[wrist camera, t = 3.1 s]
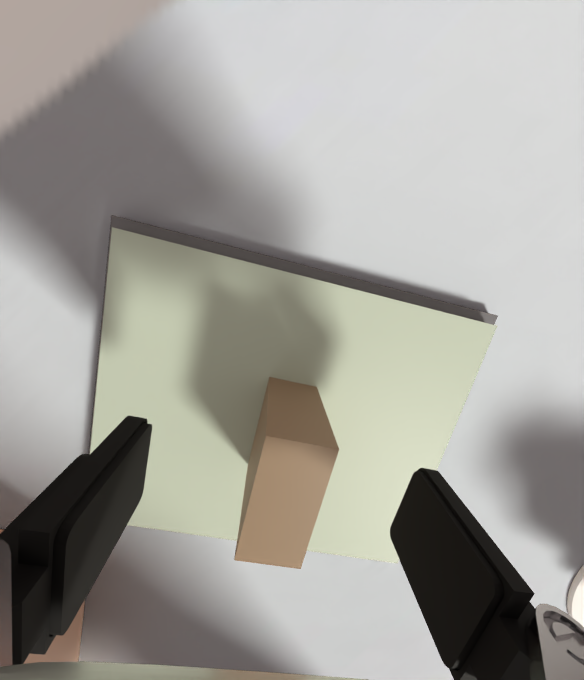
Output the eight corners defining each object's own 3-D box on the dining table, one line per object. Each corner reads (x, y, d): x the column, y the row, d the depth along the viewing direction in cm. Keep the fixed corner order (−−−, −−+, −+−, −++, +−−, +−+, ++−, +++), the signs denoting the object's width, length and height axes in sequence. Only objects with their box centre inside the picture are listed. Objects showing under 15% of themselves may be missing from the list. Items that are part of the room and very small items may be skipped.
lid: (485, 322, 14) (620, 356, 9) (392, 550, 18) (446, 681, 12) (122, 229, 12) (-6, 195, 7) (93, 506, 16) (-10, 639, 10)
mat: (489, 313, 15) (498, 315, 14) (393, 548, 18) (396, 557, 18) (119, 217, 13) (111, 215, 12) (89, 503, 16) (83, 512, 16)
